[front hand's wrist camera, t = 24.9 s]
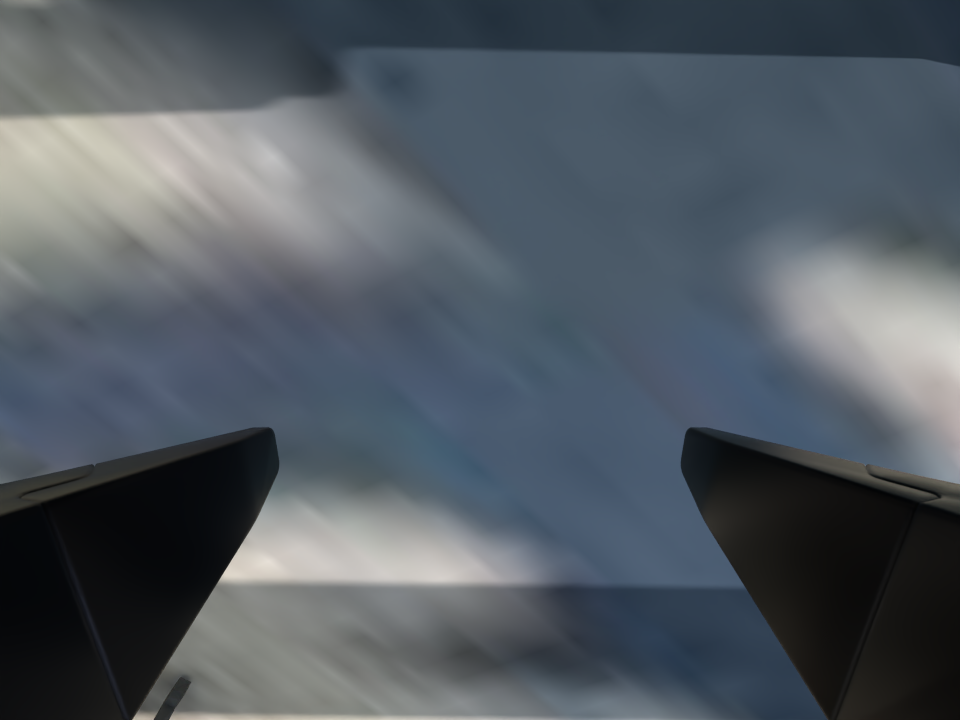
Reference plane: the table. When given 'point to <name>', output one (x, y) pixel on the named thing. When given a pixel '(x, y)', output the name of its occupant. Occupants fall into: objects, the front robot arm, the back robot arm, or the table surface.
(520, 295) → the table surface
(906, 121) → the table surface
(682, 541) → the table surface
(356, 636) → the table surface
